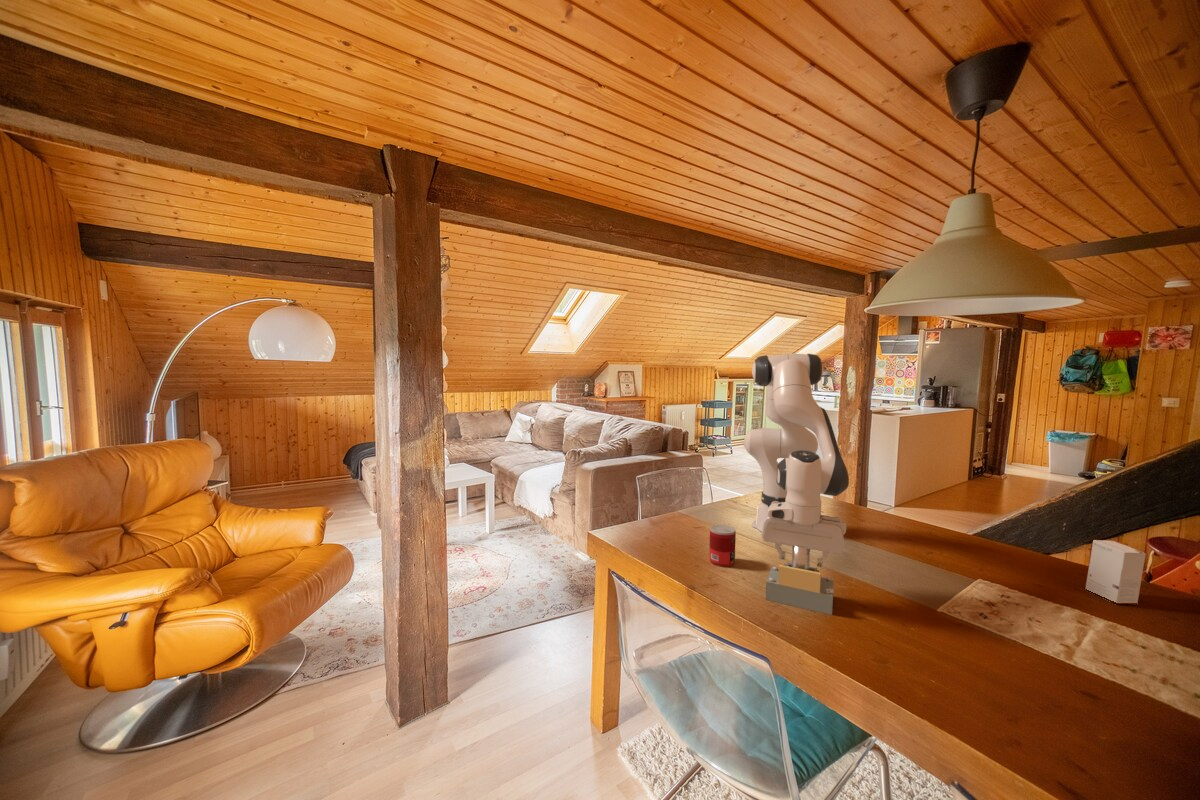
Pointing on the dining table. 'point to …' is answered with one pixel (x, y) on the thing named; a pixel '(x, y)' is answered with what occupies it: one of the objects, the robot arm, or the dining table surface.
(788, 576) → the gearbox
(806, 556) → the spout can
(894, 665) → the dining table surface
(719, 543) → the canned food
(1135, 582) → the skincare box
